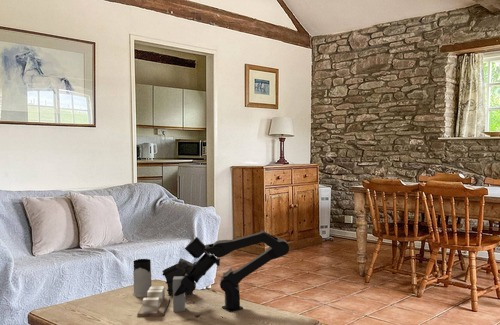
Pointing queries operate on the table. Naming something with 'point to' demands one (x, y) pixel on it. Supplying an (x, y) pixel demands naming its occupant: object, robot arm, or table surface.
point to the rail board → (160, 312)
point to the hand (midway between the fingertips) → (175, 293)
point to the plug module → (180, 299)
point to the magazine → (169, 276)
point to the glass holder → (142, 277)
